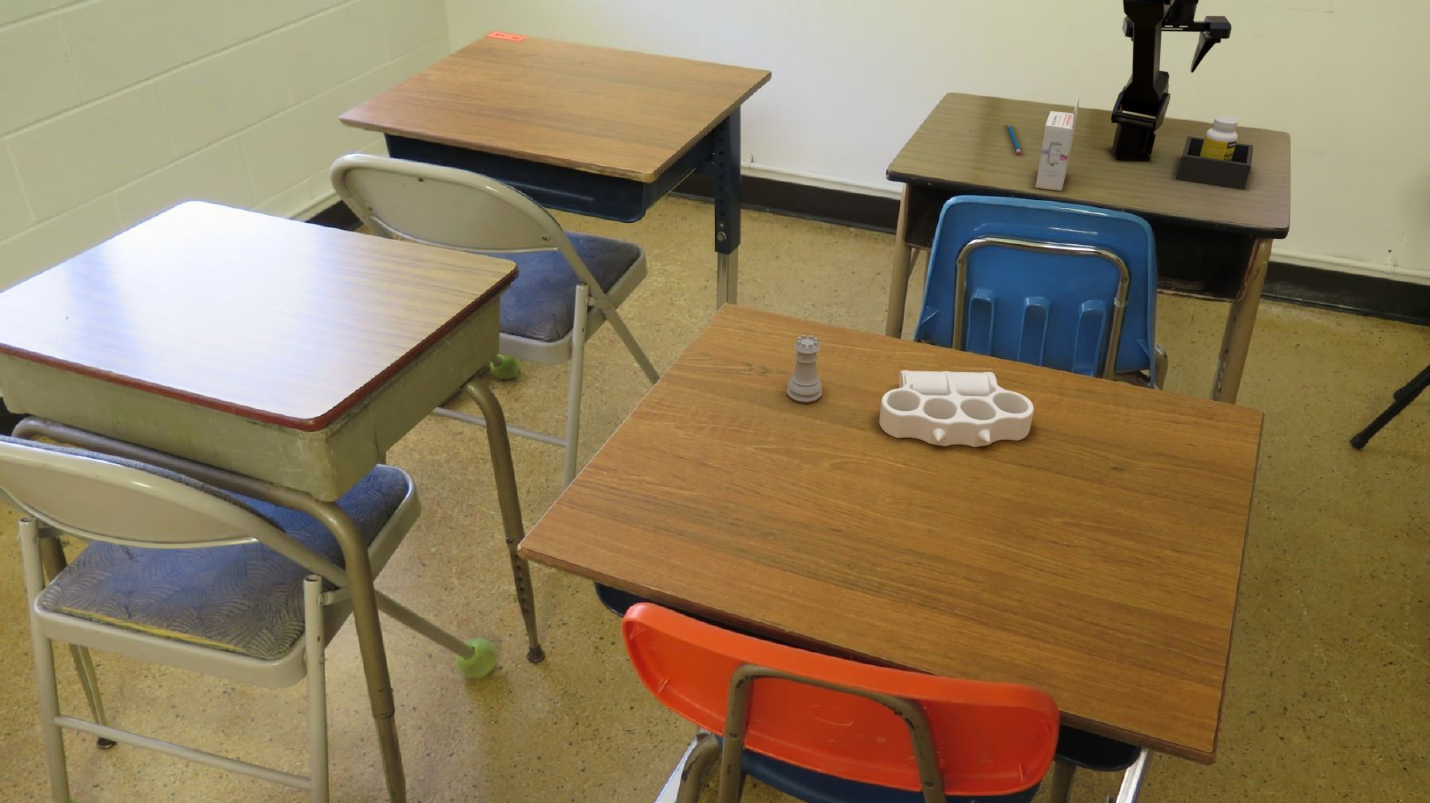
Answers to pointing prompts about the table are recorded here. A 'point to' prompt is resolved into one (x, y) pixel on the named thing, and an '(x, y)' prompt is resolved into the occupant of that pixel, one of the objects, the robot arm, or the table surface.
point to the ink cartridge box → (1056, 149)
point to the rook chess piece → (805, 372)
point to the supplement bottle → (1220, 139)
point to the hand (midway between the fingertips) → (1166, 71)
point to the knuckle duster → (954, 409)
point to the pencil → (1014, 140)
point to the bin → (1215, 165)
